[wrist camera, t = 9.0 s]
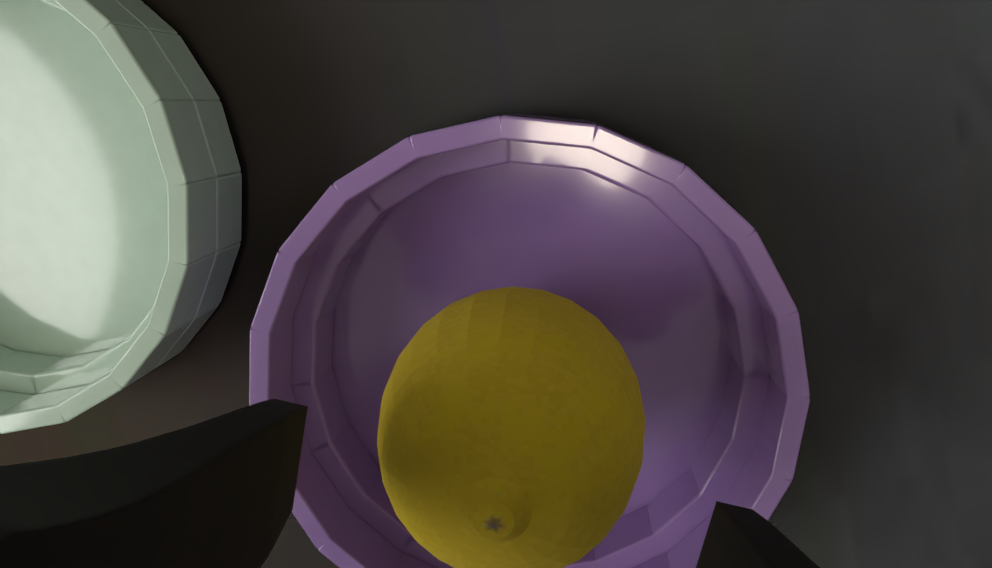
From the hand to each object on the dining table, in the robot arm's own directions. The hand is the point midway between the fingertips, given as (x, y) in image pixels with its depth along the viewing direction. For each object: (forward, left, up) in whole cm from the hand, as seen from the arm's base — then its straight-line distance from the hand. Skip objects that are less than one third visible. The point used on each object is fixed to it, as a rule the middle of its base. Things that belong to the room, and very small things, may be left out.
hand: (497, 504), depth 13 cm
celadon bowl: (-5, +13, -8) cm, 16 cm away
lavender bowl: (0, 0, -8) cm, 8 cm away
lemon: (0, 0, -7) cm, 7 cm away
